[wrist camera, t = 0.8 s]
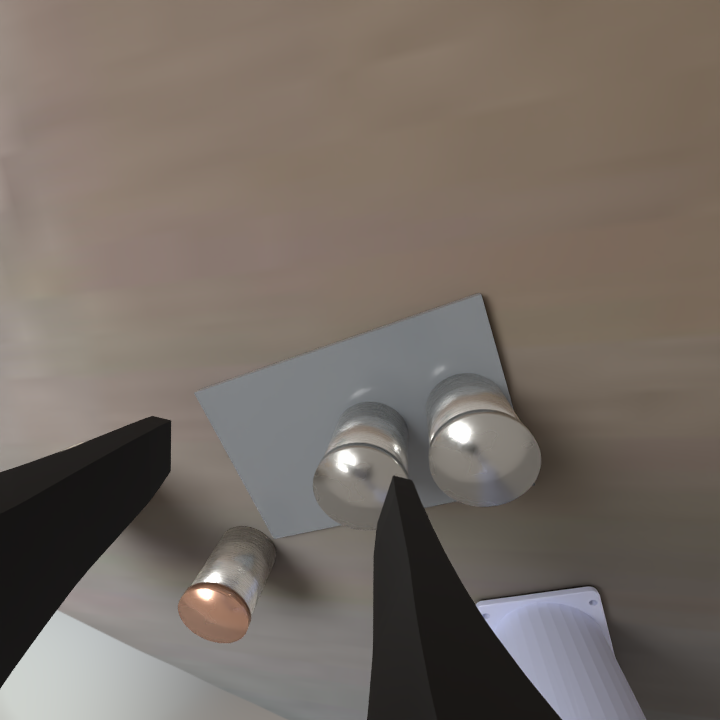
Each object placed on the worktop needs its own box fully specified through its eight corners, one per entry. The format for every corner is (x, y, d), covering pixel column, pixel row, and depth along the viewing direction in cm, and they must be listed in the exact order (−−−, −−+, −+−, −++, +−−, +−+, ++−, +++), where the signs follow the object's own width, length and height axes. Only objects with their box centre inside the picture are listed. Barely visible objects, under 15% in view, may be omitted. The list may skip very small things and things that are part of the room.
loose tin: (287, 566, 26) (259, 638, 21) (236, 576, 27) (199, 646, 22) (261, 519, 25) (226, 584, 20) (209, 531, 26) (165, 595, 21)
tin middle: (420, 457, 21) (423, 520, 16) (350, 473, 22) (334, 537, 17) (395, 390, 20) (390, 437, 15) (323, 411, 21) (297, 461, 16)
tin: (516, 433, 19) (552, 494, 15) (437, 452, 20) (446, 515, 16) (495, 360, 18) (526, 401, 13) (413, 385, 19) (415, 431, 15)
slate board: (531, 478, 21) (535, 485, 20) (276, 532, 25) (274, 539, 24) (478, 292, 18) (481, 294, 17) (199, 389, 22) (194, 392, 21)
